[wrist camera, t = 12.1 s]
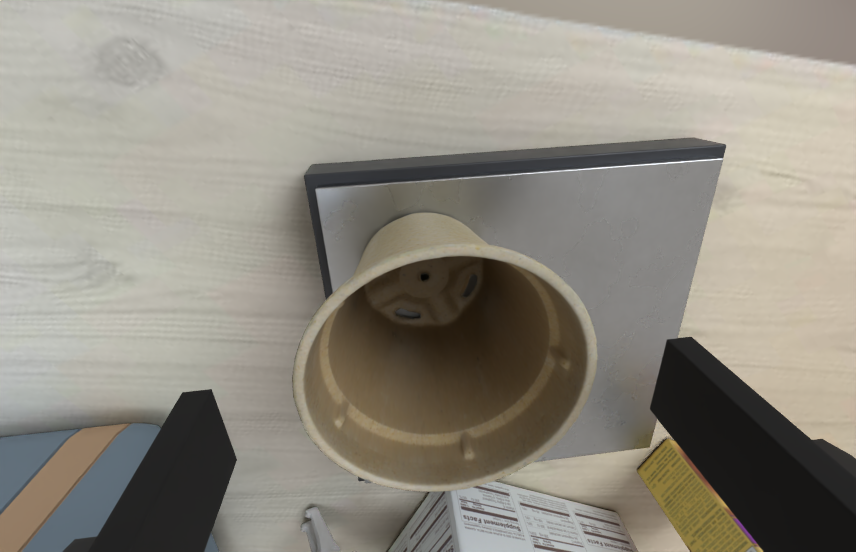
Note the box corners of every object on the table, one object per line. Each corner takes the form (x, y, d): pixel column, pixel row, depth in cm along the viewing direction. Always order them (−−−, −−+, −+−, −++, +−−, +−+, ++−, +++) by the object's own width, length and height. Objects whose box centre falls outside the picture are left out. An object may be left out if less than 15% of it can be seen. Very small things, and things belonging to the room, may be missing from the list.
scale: (310, 164, 21) (301, 177, 18) (693, 137, 22) (737, 146, 20) (359, 452, 30) (357, 490, 27) (631, 419, 31) (655, 452, 28)
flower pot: (306, 184, 18) (254, 268, 11) (519, 163, 19) (616, 227, 11) (342, 359, 22) (323, 510, 15) (515, 337, 23) (584, 472, 15)
